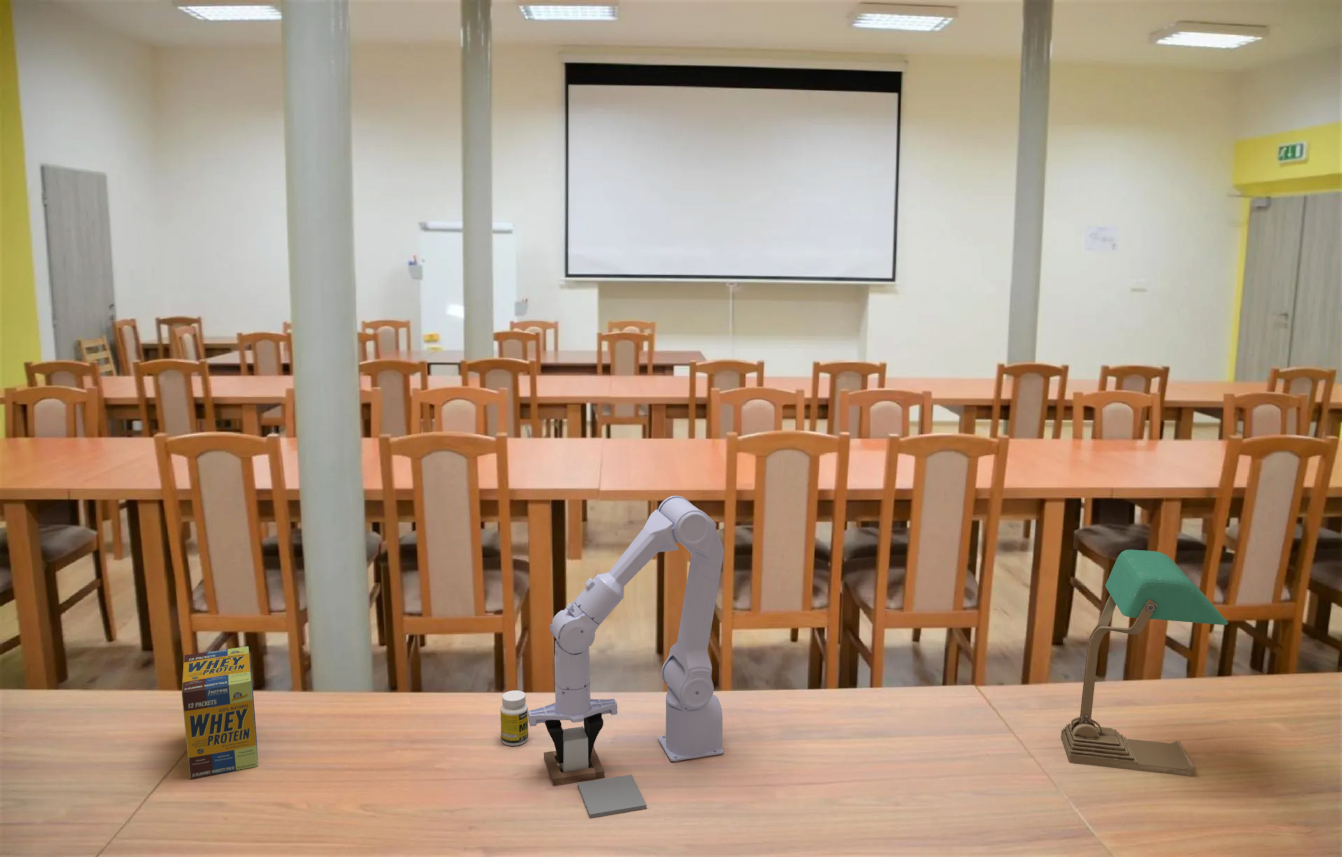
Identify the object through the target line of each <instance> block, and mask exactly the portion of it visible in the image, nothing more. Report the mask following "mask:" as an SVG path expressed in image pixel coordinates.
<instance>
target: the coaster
mask: <svg viewBox="0 0 1342 857" xmlns="http://www.w3.org/2000/svg"><path fill="white" fill-rule="evenodd" d="M577 788H578V791H579V793H580V796H581V799H582V802H583V803H584V806H585V809H586V811H587V815H588V817H589V819H592V818H597V817H603V816H604V817H605V816H609V815H615V814H616V815H617V814H621V813H628V812H633V811H639V810H645V809H647V807H648V806H647V803H646V800H645V799H644V797H643V795H642V792H641V790H640V789H639V787H638V784H637V782H636V781H635V778H634V776H633V774H627V775H620V776H613V777H607V778H600V779H593V780H587V781H581V782H577Z"/></svg>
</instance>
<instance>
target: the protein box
mask: <svg viewBox="0 0 1342 857" xmlns="http://www.w3.org/2000/svg"><path fill="white" fill-rule="evenodd" d="M249 648H250V647H249V646H248V645H247V646H241V647H233V648H226V649H221V650H220V649H218V650H211V651H205V652H204V651H203V652H197V653H190V654H184V655H183V669H182V682H181V683H182V684H181V699H182V701H181V702H182V710H183V720H184V730H185V731H184V733H185V741H186V750H187V760H188V767H189V768H188V770H189V778H190V780H193V778H194V779H198V778H203V777H209V776H215V775H218V774H219V775H221V774H224V773H230V772H236V771H240V769H241V770H245V769H250V768H255V767H258V766H259V758H258V757H259V756H258V738H257V735H258V734H257V726H256V711H255V699H254V698H255V697H254V686H253V684H254V683H253V674H252V665H251V659H250V656H251V655H250V649H249ZM214 774H215V775H214Z"/></svg>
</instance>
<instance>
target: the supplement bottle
mask: <svg viewBox="0 0 1342 857" xmlns="http://www.w3.org/2000/svg"><path fill="white" fill-rule="evenodd" d="M501 698H502V701H501V703H502V705H501V707H500V709H499V710H500V741H501V743H503V745H506V746H512V747H516V746H521V745H523V744H525V743H526V742H527V741H528V739H529V721H528V708H529V707H528V704H527V703H526V702H527V699H526V693H525V692H524V691H522V690H508V691H506V692H505V693H503V694H502V697H501Z"/></svg>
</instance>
